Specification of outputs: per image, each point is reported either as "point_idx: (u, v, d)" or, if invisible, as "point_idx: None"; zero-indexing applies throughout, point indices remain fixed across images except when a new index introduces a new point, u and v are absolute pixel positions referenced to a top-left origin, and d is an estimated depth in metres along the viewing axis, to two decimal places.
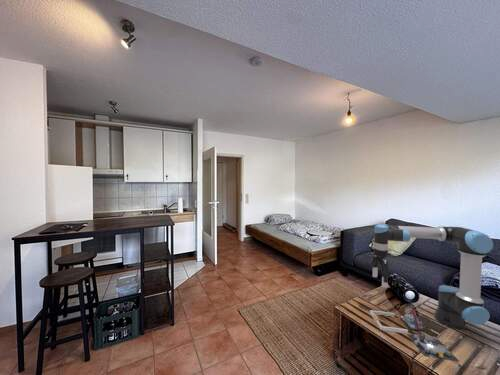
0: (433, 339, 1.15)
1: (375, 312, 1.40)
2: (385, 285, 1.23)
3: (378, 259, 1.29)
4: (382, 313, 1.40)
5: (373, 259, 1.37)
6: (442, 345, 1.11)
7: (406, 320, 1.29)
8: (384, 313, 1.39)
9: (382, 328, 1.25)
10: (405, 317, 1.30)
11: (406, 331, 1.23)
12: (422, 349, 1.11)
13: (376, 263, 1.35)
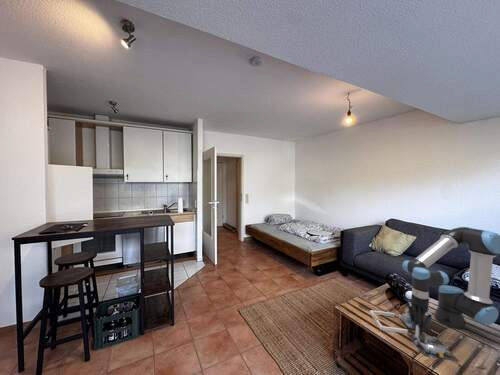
0: (433, 339, 1.15)
1: (375, 312, 1.40)
2: None
3: (421, 309, 1.13)
4: (382, 313, 1.40)
5: (410, 311, 1.18)
6: (442, 345, 1.11)
7: (403, 319, 1.30)
8: (384, 313, 1.39)
9: (382, 328, 1.25)
10: (403, 316, 1.31)
11: (406, 331, 1.23)
12: (422, 349, 1.11)
13: (417, 316, 1.16)
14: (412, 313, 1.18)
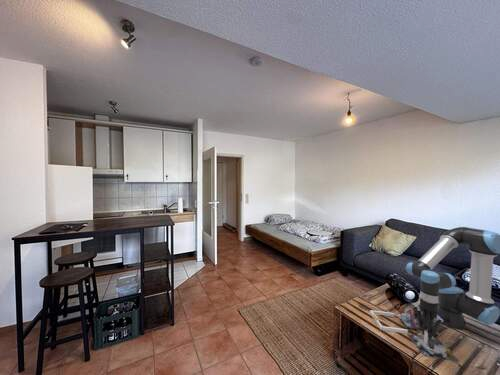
0: None
1: (375, 312, 1.40)
2: None
3: (430, 314, 1.09)
4: (382, 313, 1.40)
5: (419, 316, 1.14)
6: (433, 338, 1.16)
7: (402, 318, 1.31)
8: (384, 313, 1.39)
9: (382, 328, 1.25)
10: (402, 316, 1.32)
11: (406, 331, 1.23)
12: (422, 349, 1.11)
13: (426, 321, 1.12)
14: (420, 318, 1.14)
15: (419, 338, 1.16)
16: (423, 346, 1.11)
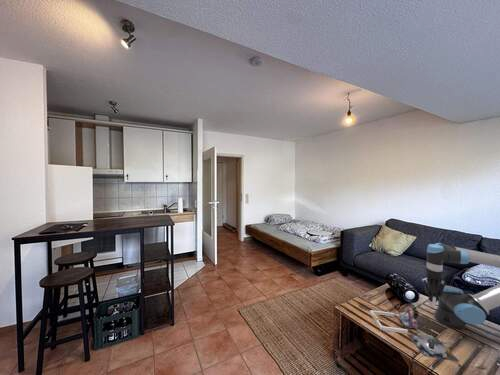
0: (424, 336, 1.17)
1: (375, 312, 1.40)
2: (431, 304, 1.27)
3: None
4: (382, 313, 1.40)
5: None
6: (433, 338, 1.16)
7: (401, 318, 1.31)
8: (384, 313, 1.39)
9: (382, 328, 1.25)
10: (400, 315, 1.33)
11: (406, 331, 1.23)
12: (422, 349, 1.11)
13: (434, 288, 1.27)
14: (439, 289, 1.27)
15: (419, 338, 1.16)
16: (423, 346, 1.11)
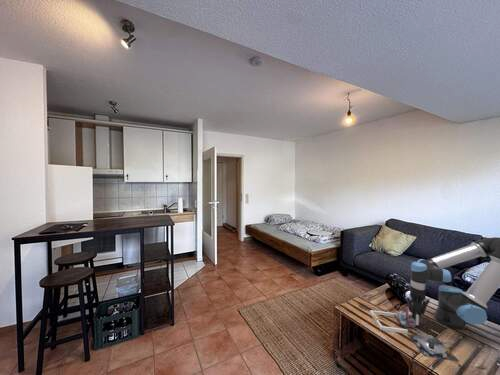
0: (424, 336, 1.17)
1: (375, 312, 1.40)
2: None
3: None
4: (382, 313, 1.40)
5: None
6: (433, 338, 1.16)
7: (398, 317, 1.32)
8: (384, 313, 1.39)
9: (382, 328, 1.25)
10: (398, 314, 1.34)
11: (406, 331, 1.23)
12: (422, 349, 1.11)
13: (417, 305, 1.29)
14: (422, 306, 1.29)
15: (419, 338, 1.16)
16: (423, 346, 1.11)
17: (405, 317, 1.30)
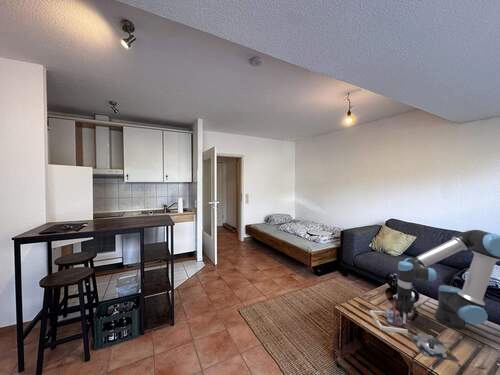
0: (424, 336, 1.17)
1: (375, 312, 1.40)
2: (402, 320, 1.30)
3: None
4: (382, 313, 1.40)
5: (409, 302, 1.31)
6: (433, 338, 1.16)
7: (386, 315, 1.34)
8: None
9: (382, 328, 1.25)
10: (385, 312, 1.35)
11: (406, 331, 1.23)
12: (422, 349, 1.11)
13: (404, 304, 1.30)
14: (409, 305, 1.30)
15: (419, 338, 1.16)
16: (423, 346, 1.11)
17: (392, 315, 1.31)
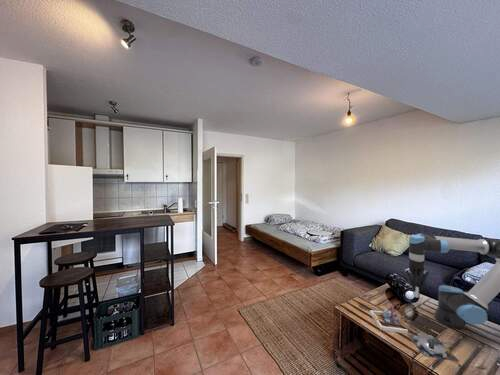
0: (424, 336, 1.17)
1: (375, 312, 1.40)
2: (414, 294, 1.29)
3: None
4: None
5: (421, 276, 1.29)
6: (433, 338, 1.16)
7: (383, 315, 1.34)
8: None
9: (382, 328, 1.25)
10: (383, 312, 1.35)
11: (406, 331, 1.23)
12: (422, 349, 1.11)
13: (417, 278, 1.29)
14: (421, 278, 1.28)
15: (419, 338, 1.16)
16: (423, 346, 1.11)
17: (390, 315, 1.31)
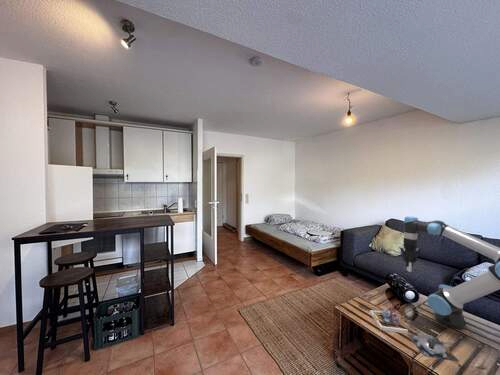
0: (424, 336, 1.17)
1: (375, 312, 1.40)
2: (408, 269, 1.44)
3: None
4: None
5: (414, 253, 1.45)
6: (433, 338, 1.16)
7: (383, 315, 1.34)
8: None
9: (382, 328, 1.25)
10: (383, 312, 1.35)
11: (406, 331, 1.23)
12: (422, 349, 1.11)
13: (410, 255, 1.45)
14: (414, 255, 1.44)
15: (419, 338, 1.16)
16: (423, 346, 1.11)
17: (389, 315, 1.32)
